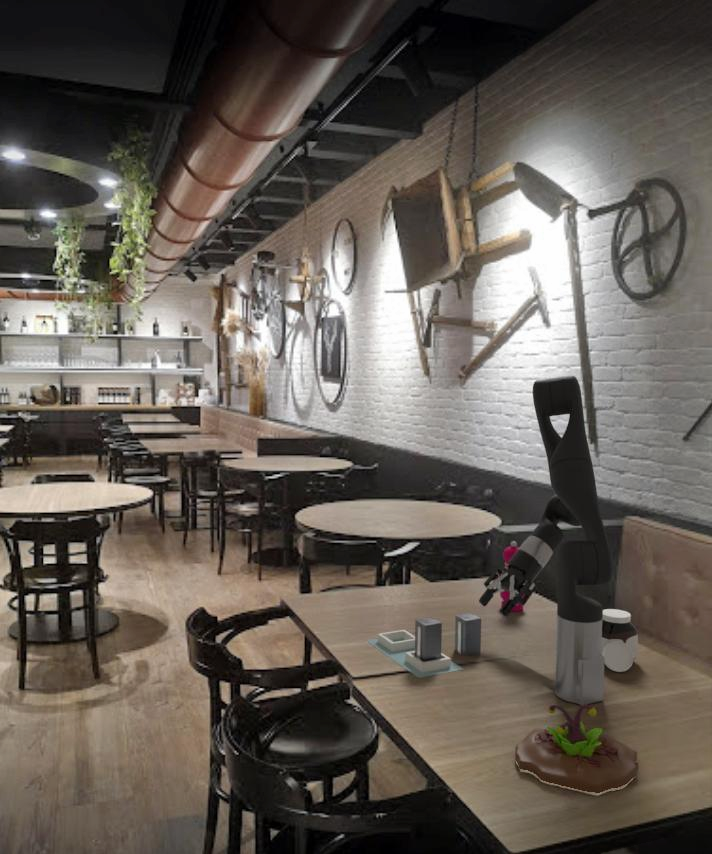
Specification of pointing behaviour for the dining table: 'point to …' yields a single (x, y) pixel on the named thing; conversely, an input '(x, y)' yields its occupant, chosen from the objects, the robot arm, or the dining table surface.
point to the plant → (576, 755)
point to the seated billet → (428, 639)
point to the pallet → (411, 654)
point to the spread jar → (618, 640)
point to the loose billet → (468, 634)
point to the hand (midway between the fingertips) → (491, 609)
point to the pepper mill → (507, 556)
